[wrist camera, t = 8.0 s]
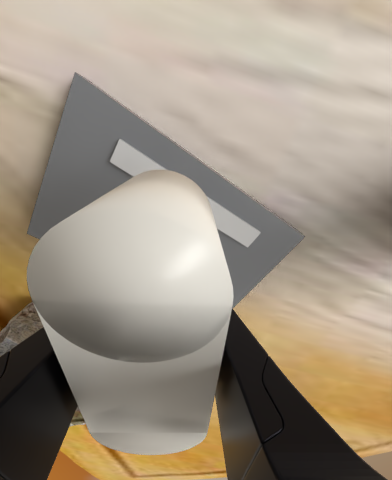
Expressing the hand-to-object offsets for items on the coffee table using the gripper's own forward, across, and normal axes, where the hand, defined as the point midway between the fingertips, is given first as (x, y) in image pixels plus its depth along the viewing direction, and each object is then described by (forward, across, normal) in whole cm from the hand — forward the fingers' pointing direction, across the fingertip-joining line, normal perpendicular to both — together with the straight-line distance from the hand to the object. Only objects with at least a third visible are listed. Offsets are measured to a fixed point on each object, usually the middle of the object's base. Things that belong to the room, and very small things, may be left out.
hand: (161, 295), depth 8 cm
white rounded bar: (+1, 0, +1) cm, 2 cm away
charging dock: (+9, 0, +1) cm, 9 cm away
